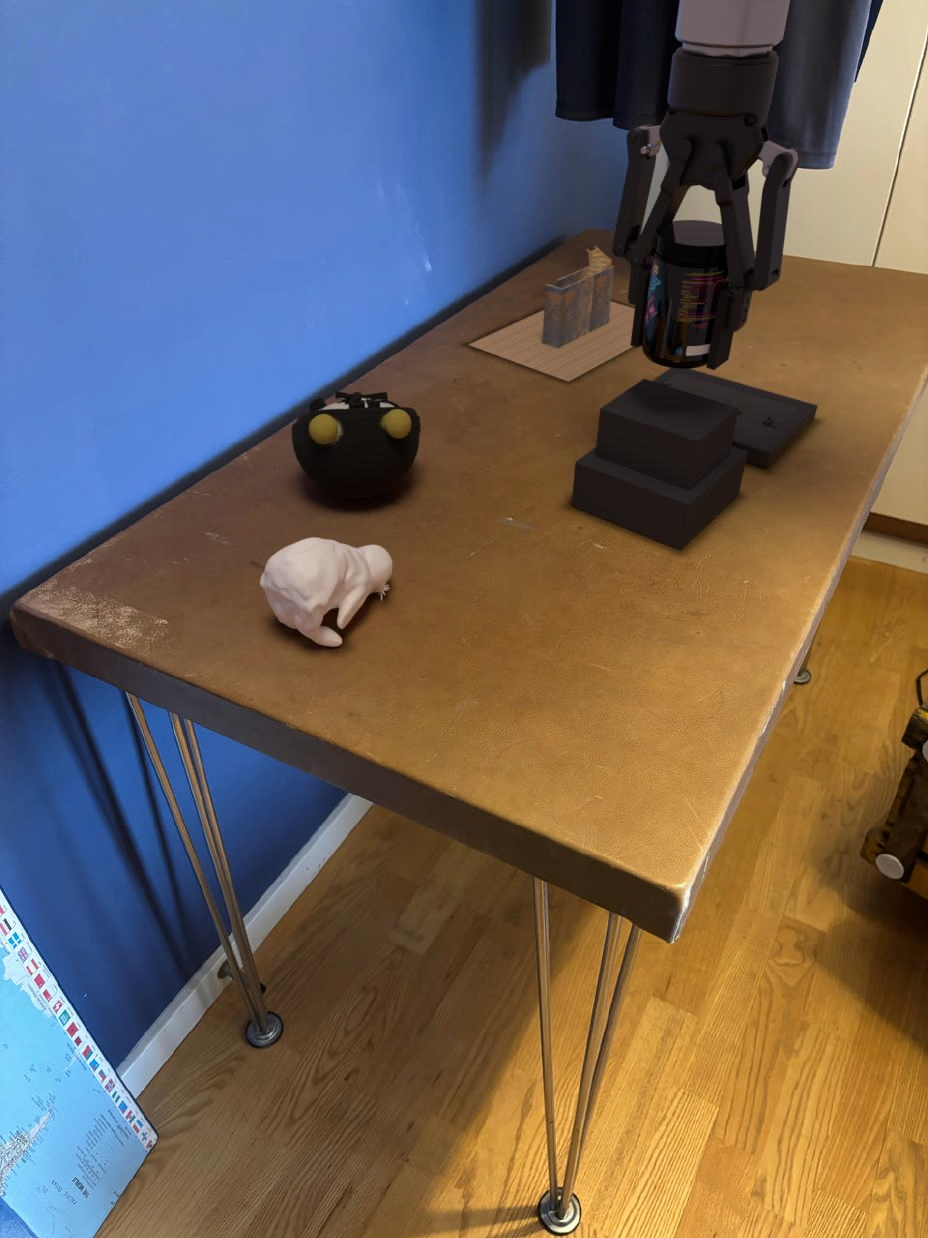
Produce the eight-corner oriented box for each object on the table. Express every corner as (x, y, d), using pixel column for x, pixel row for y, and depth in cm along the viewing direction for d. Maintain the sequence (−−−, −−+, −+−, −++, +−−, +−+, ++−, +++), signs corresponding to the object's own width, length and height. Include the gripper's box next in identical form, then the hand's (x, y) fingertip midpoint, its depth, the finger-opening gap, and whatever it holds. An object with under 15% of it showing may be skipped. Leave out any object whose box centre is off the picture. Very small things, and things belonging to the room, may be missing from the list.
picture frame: (617, 420, 103) (766, 469, 95) (619, 401, 101) (771, 449, 93) (672, 379, 111) (814, 420, 103) (675, 361, 110) (819, 402, 101)
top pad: (729, 455, 87) (739, 407, 84) (689, 490, 82) (698, 441, 79) (637, 424, 92) (643, 378, 88) (594, 456, 87) (599, 408, 84)
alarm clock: (424, 490, 98) (473, 390, 87) (337, 560, 89) (378, 459, 78) (344, 422, 100) (381, 315, 88) (250, 484, 91) (277, 373, 79)
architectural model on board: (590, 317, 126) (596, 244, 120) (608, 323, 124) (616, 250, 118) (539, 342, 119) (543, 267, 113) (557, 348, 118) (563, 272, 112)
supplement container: (686, 334, 84) (705, 215, 77) (733, 362, 79) (758, 238, 72) (624, 347, 82) (638, 226, 75) (668, 377, 77) (688, 250, 70)
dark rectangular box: (738, 495, 91) (748, 451, 87) (680, 550, 83) (689, 504, 80) (633, 458, 96) (639, 415, 93) (571, 506, 89) (575, 461, 86)
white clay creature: (248, 545, 69) (358, 491, 77) (256, 635, 74) (359, 576, 82) (306, 576, 66) (414, 517, 74) (311, 668, 71) (412, 604, 79)
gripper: (882, 53, 63) (802, 367, 78) (634, 28, 72) (605, 312, 87) (841, 68, 58) (765, 399, 73) (582, 39, 68) (561, 337, 83)
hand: (678, 351), depth 80 cm, fingers closed on supplement container, 7 cm apart
